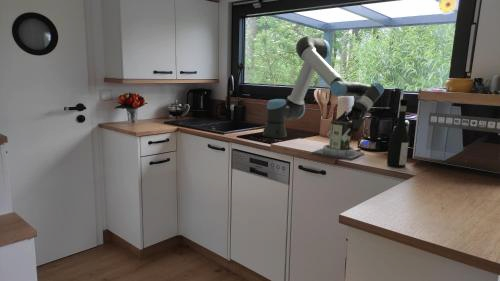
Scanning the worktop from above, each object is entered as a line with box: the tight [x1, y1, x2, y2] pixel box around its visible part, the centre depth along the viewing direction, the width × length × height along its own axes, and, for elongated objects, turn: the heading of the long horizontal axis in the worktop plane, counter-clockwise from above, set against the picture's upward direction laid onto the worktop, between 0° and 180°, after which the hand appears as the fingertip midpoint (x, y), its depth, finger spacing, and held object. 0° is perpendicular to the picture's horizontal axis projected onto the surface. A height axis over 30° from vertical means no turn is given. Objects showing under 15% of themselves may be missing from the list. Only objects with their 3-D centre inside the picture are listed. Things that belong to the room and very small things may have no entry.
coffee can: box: [328, 120, 352, 150], centre depth 183 cm, size 10×10×14 cm
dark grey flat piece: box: [311, 144, 365, 161], centre depth 184 cm, size 20×20×4 cm
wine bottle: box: [386, 98, 410, 169], centre depth 161 cm, size 8×8×30 cm
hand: (335, 138), depth 181 cm, fingers closed on coffee can, 10 cm apart
